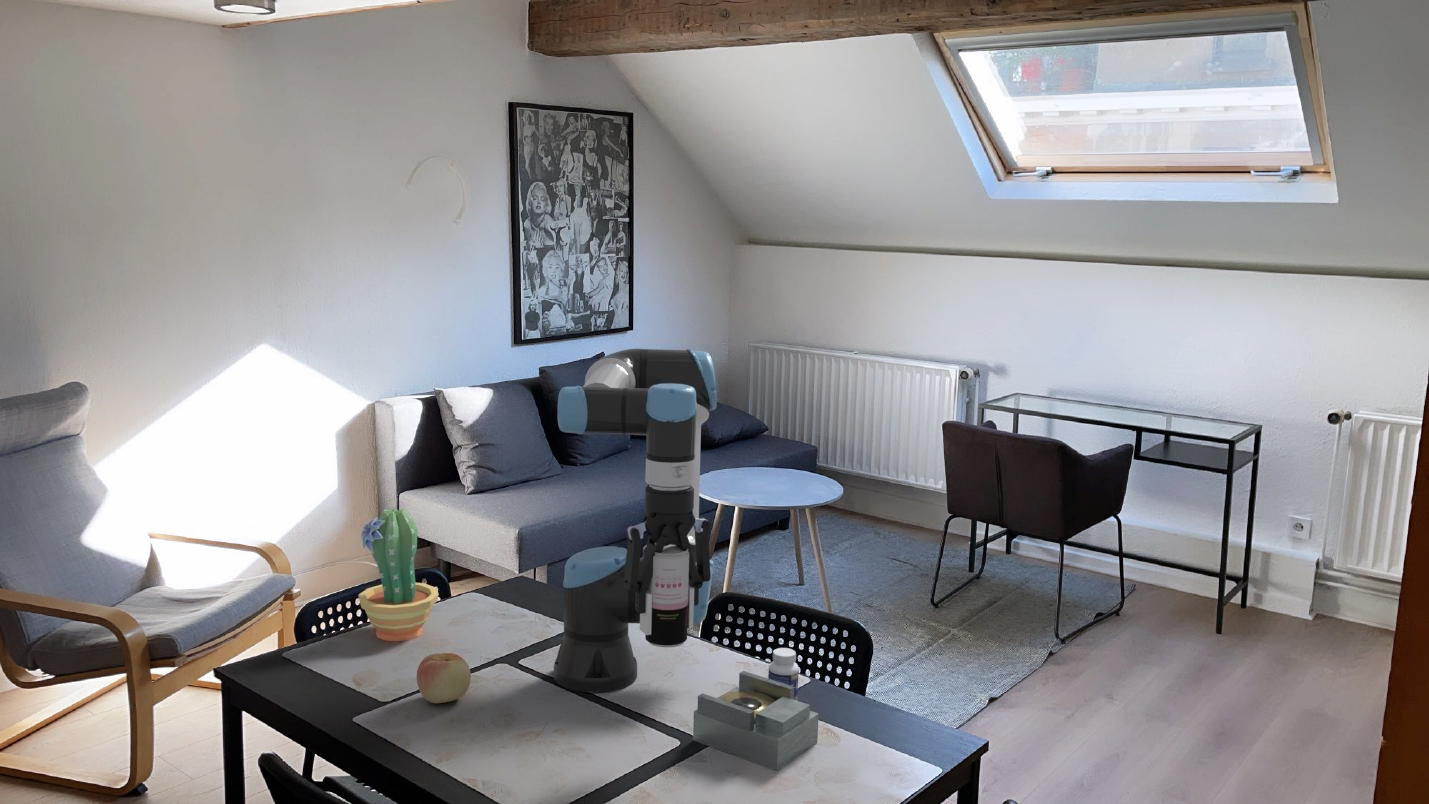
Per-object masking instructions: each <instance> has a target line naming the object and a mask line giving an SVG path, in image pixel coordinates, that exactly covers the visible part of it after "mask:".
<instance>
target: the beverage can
mask: <svg viewBox="0 0 1429 804" xmlns="http://www.w3.org/2000/svg"><path fill="white" fill-rule="evenodd" d="M688 584H689V552H688V549H687V550H684V551H683V550H681V549H680V548H679V547H677V546H676V545H674V544H670V545H668V546H664V548H663V551H662V552H661V553H657V552H655V556H654V557H653V576H652V579H651V582H650V585H649V588H648V592H650V593H651V594H652V621H651V635H646V634H645V633H644V635H645V640H646V641H647V642H648V643H649V645H652V646H655V647H657V648H675V647H679V646H681V645H683V644H685V642H687V640H688V628H687V623H688Z"/></svg>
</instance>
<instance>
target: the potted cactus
mask: <svg viewBox="0 0 1429 804" xmlns="http://www.w3.org/2000/svg"><path fill="white" fill-rule="evenodd" d="M364 525H365V526H363V529H362V531H361V537H360V538H361V541H362V546H363V549H364V548H366V547H367V549H368V550H369V552H371V555H372V557H373V560H374V562H375V564H376V566H377V568H378V572H379V577H380V582H381V584H379V585H375V586H372V587H367V588H365V590H363V591H362V592H360V593H359V594H358V599H359V604H360V607H361V609H362V610H365V613H366V616H367V619H368V621H369V622H370V624H371V625H372V626H373V627H374V629H375V631H376V632H375V634H376V637H377V638H378V639H380V640H383V641H387V642H399V641H400V642H401V641H409V640H413V639H415V638H418V637H420V636H421V635H422V634H423V629H422V628H423V626H424V625H425V623H426V621H427V620H428V619H429V618H430V615H431V614H432V613H431V612H432V609H433V606H434V604H436V603H437V602H438V598H439V595H440V594H439V592H438V588H437V587H435V586H432V585H429V584H427V583H425V582H423V583H422V582H416V575H415V556H416V552H417V548H418V526H417V524H416V523H415V521H414V519H413V518H412V517H411V516H410V514H409V513H408V512H407V511H406V510H405V509H404V508H401V509H397V507H392V509H391V510H388V509H383V511H382V512H381V515H379V517H378V516H376V517H375V518H373V519H371V520H370V521H368V522H366V524H364Z"/></svg>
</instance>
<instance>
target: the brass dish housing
mask: <svg viewBox="0 0 1429 804" xmlns="http://www.w3.org/2000/svg"><path fill="white" fill-rule="evenodd" d="M738 674H739V676H738V677H739V678H738V687H737V686H736V687H734V688H732V689H730V690H729V691H727V692H725V693H723V694H721V695H720V696H718V697H714V696H712V695H708V694H705V693H700V694H699V695H697V708H696V709H695V710H693V727H692V728H693V733H692V741H694V742H697V743H700V744H701V745H705V746H707V747H710V748H713V749H715V750H719V751H721V752H724V753H726V754H729V755H732V756H733V757H737V758H740V759H742V760H746V761H748V762H751V763H753V764H756V765H759V766H762V767H764V768H767V769H770V770H772V771H775V772H779V770H782V768H784V767H785V766H786V765H788V764H789V763H791V762H793V761H794V760H795V759H797V758H798V757H799V756H801V755H802V754H803V753H805V752H806V751H808V750H809V749H811V748H812V747H814V746H815V745H816V744H818V735H819V713H818V712H815V711H812V710H811V705H810V704H808V703H805V702H802V701H799V700H797V701H796V700H794V686H790V685H787V684H784V683H781V682H778V681H774V680H771V679H768V677H764V676H761V675H757V674H755V673H752V672H748V671H745V670H743V671H741V672H739V673H738Z"/></svg>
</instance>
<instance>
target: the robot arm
mask: <svg viewBox="0 0 1429 804" xmlns="http://www.w3.org/2000/svg"><path fill="white" fill-rule="evenodd" d="M715 373H716V372H715V367H714V361H713V359H712V357H711V355H710V353H709V352H706V351H704V350H692V349H690V348H687V349H652V348H651V349H650V348H647V349H646V348H630V349H629V348H628V349H624V350H619V351H616V352H613V353H610V354H607V355H605V356H603V357H601V358H599V359H597V360H596V361H595V362H593V363H592V364H591V366H590V367H589V369H588V370H587V372H586V373H585V378H584V384H583V386H580V385H575V386H564V387H562V388H561V389H560V391H559V393H558V397H557V398H558V399H557V424H558V425H557V426H558V428H559V431H561V432H563V433H570V434H577V435H583V434H590V435H591V434H593V435H594V434H595V435H596V434H597V435H600V434H602V435H603V434H604V435H606V434H607V435H630V436H631V435H633V436H646V453H645V476H644V477H645V480H644V481H645V483H646V484H647V486H645V488H644V510H645V511H644V512H645V513H644V518H643V519H642V521H641V523H638V524H635V525H631V524H628V525H626V527H625V534H626V536H627V548H625V547H619V546H615V545H614V546H613V545H609V546H607V545H606V546H598V547H597V546H596V547H593V548H588V549H584V550H582V551H579V552H576V553H575V554H573V555H572V556H570V557H569V558H568V559H567V561H566V563H565V566H564V576H563V577H564V579H563V581H562V586H563V587H564V588H563V595H564V596H563V605H564V606H563V637H562V640H561V643H560V646H559V649H558V651H557V654H556V655H557V656H556V658H555V661H554V663H553V679H554V681H555V682H556V683H557V685H559V686H561V687H562V688H565V689H568V690H571V691H576V692H580V693H582V692H583V693H607V692H611V691H612V692H613V691H617V690H620V689H623V688H626V687H628V686H630V685H631V684H633V683H634V682H635V681H636V680H637V678H638V662H637V659H636V657H635V655H634V652H633V651H634V650H633V647H632V644H631V640H630V636H629V624H639V631H641V632H642V633H644V635H645V634H646V635H651V621H652V594H651V593H650V592H648V588H649V585H650V582H651V579H652V576H653V557H654V556H655V552H657V553H661V552H662V551H663V548H664V546H668V545H670V544H674V545H676V546H677V547H679V548H680V549H681V550H683V551H684V550H687V549H688V552H689V584H688V623H687V629H693V628H694V625H699V624H701V623H702V622H704V621H705V619H706V616H707V613H708V612H707V611H708V606H709V601H710V594H711V587H712V580H713V573H714V567H715V563H714V560H712V559H710V558H711V557H710V543H709V541H710V540H709V539H710V538H709V535H710V534H709V533H710V530H711V528H712V523H711V521H710V520H708V519H706V518H704V517H702V516H701V517H699V516H700V481H701V479H700V478H701V443H702V442H701V441H702V439H701V437H702V433H701V432H702V425H703V424H704V423H705V422H706V421H707V420H708V419H709V417H710V412H711V411H714V410H716V409H717V403H718V402H717V401H718V400H717V399H718V398H717V389H716V388H717V387H716V375H715ZM645 532H646V533H647V535H648V538H647V541H646V545H645V546H644V547H642V539H644V533H645ZM641 551H642V557H641Z"/></svg>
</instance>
